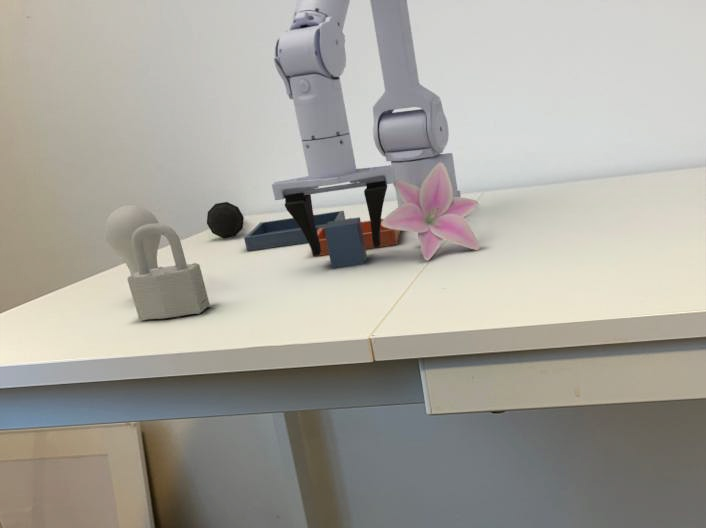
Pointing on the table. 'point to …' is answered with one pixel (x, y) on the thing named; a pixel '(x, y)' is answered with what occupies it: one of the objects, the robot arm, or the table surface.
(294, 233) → the slate tray
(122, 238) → the lightbulb
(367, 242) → the terracotta tray
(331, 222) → the blue block
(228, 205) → the faceted black orb
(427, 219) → the lily
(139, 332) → the table surface
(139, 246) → the padlock
